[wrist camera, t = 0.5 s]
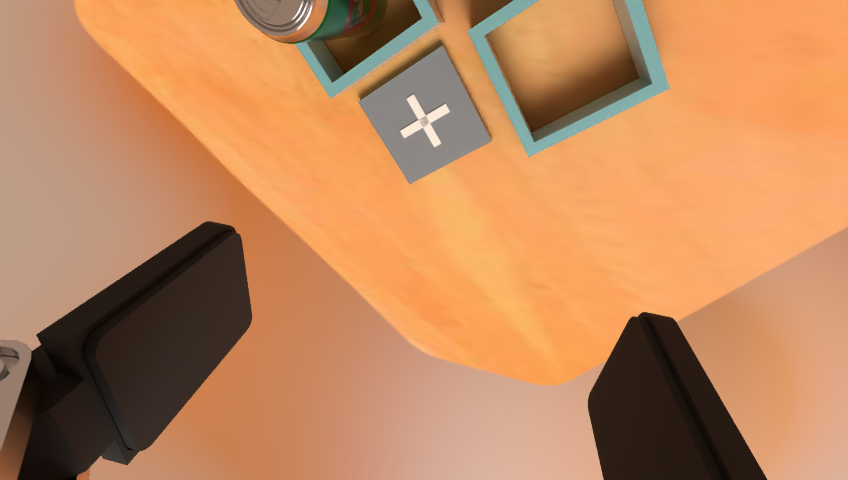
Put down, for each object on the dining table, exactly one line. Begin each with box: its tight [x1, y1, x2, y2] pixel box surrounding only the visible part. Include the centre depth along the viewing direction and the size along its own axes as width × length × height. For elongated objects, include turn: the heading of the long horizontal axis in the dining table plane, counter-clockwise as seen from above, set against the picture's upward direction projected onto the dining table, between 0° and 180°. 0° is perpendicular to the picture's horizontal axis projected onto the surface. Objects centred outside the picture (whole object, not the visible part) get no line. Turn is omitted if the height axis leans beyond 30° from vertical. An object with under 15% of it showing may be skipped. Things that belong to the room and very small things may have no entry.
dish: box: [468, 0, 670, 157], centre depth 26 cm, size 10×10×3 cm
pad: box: [359, 45, 492, 184], centre depth 31 cm, size 8×8×1 cm
